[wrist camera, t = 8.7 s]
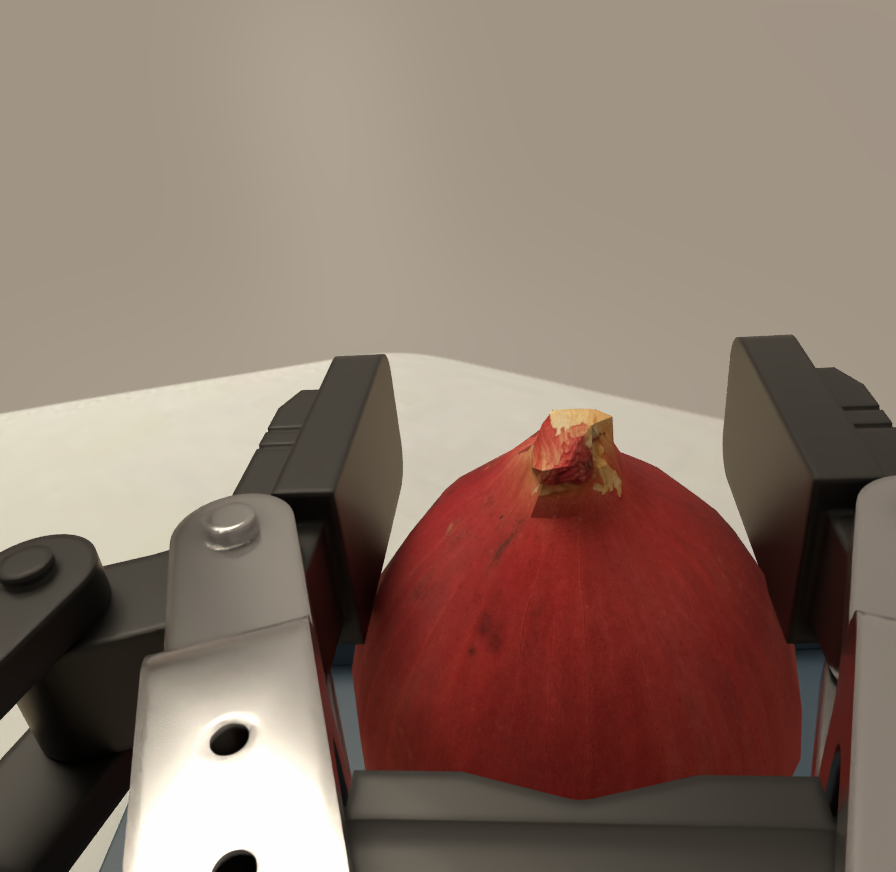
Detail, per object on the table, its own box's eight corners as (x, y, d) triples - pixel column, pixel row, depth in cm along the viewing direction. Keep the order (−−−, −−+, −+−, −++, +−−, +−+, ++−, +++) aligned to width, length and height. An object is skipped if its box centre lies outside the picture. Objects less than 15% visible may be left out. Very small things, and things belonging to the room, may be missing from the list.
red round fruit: (331, 799, 14) (225, 389, 10) (594, 653, 16) (595, 271, 12) (531, 1167, 10) (486, 700, 5) (851, 894, 12) (990, 423, 8)
